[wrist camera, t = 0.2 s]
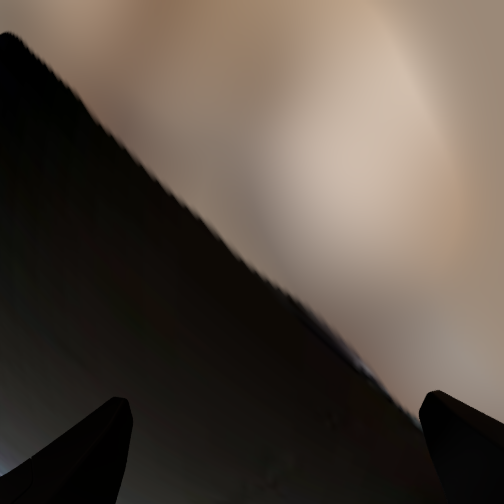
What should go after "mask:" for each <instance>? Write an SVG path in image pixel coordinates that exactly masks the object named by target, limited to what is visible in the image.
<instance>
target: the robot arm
mask: <svg viewBox="0 0 504 504" xmlns="http://www.w3.org/2000/svg"><path fill="white" fill-rule="evenodd" d="M419 419H420V422H421V425H422V429H423V432H424V436H425V439H426V443H427V447H428V450H429V453H430V456H431V459H432V461H433V464H434V467H435V469H436V472H437V474H438V477H439V480H440V482H441V485H442V488H443V491H444V494H445V496H446V499H447V502H448V504H504V424H503V423H501V422H499V421H497V420H495V419H494V418H491V417H490V416H488V415H486V414H484V413H482V412H480V411H478V410H476V409H474V408H472V407H470V406H469V405H467V404H465V403H463V402H461V401H459V400H457V399H455V398H453V397H452V396H450V395H448V394H446V393H444V392H442V391H440V390H436V391H432V392H429V393H428V394H427V395H426V397H425V399H424V401H423V403H422V406H421V408H420V410H419ZM132 427H133V417H132V414H131V410H130V406H129V402H128V400H127V399H125V398H119V397H113V398H111V399H110V400H108V401H107V402H106V403H104V404H103V405H102V406H100V407H99V408H98V409H96V410H95V411H94V412H92V413H91V414H90V415H88V416H87V417H86V418H84V419H83V420H82V421H80V422H79V423H78V424H76V425H75V426H73V427H72V428H71V429H69V430H68V431H67V432H65V433H64V434H63V435H61V436H60V437H58V438H57V439H56V440H54V441H53V442H52V443H50V444H49V445H47V446H46V447H45V448H43V449H42V450H40V451H39V452H38V453H36V454H35V455H33V456H32V457H31V458H29V459H28V460H26V461H25V462H23V463H22V464H20V465H19V466H17V467H16V468H14V469H13V470H11V471H10V472H8V473H6V474H5V475H3V476H1V477H0V504H115V503H116V500H117V496H118V493H119V489H120V486H121V482H122V479H123V475H124V472H125V468H126V462H127V456H128V450H129V444H130V438H131V432H132Z"/></svg>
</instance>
